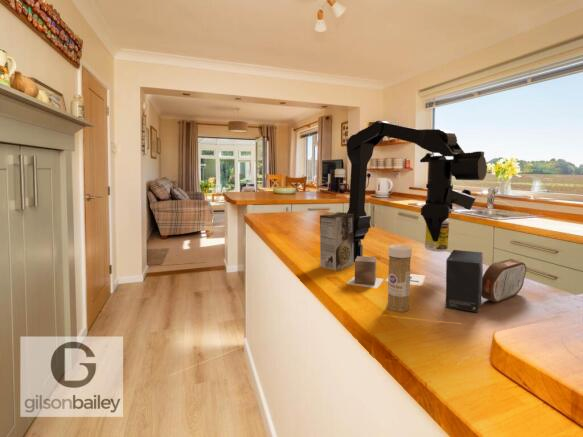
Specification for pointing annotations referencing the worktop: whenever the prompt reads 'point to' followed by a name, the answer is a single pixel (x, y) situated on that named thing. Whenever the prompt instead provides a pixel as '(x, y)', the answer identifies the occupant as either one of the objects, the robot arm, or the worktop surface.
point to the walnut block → (365, 270)
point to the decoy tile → (377, 283)
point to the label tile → (415, 279)
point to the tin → (503, 280)
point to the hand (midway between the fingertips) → (436, 239)
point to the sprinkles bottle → (399, 277)
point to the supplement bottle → (442, 241)
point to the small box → (464, 280)
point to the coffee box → (336, 240)
